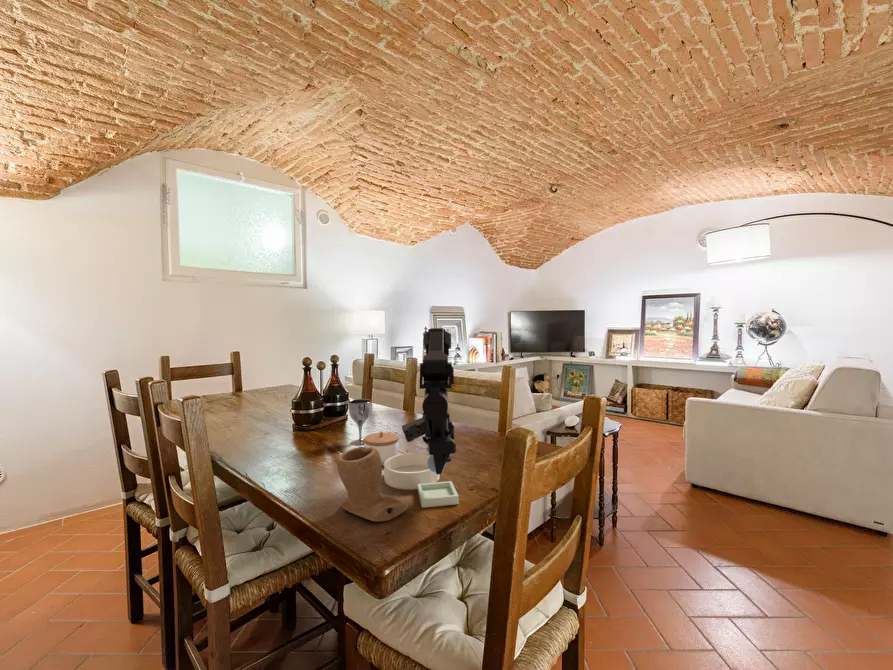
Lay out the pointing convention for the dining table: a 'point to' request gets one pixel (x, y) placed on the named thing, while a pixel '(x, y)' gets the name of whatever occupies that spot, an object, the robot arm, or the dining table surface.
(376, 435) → the lidded jar
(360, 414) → the wine glass
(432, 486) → the tray
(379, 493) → the tan boot vase
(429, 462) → the ball
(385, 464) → the bowl
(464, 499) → the dining table surface
